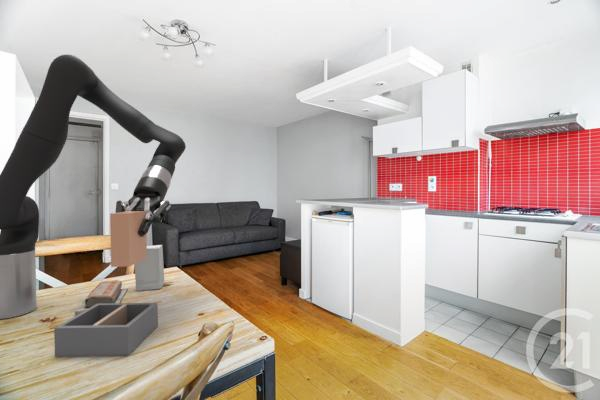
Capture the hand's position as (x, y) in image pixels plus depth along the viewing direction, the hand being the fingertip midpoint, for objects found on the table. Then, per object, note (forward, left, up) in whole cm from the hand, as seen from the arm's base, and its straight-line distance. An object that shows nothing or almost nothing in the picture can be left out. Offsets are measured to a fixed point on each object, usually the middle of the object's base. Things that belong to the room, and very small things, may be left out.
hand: (130, 234), depth 68 cm
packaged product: (-20, +20, -25) cm, 38 cm away
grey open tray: (-3, -3, -24) cm, 24 cm away
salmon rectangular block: (0, 0, -7) cm, 7 cm away
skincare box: (-12, +33, -24) cm, 42 cm away
